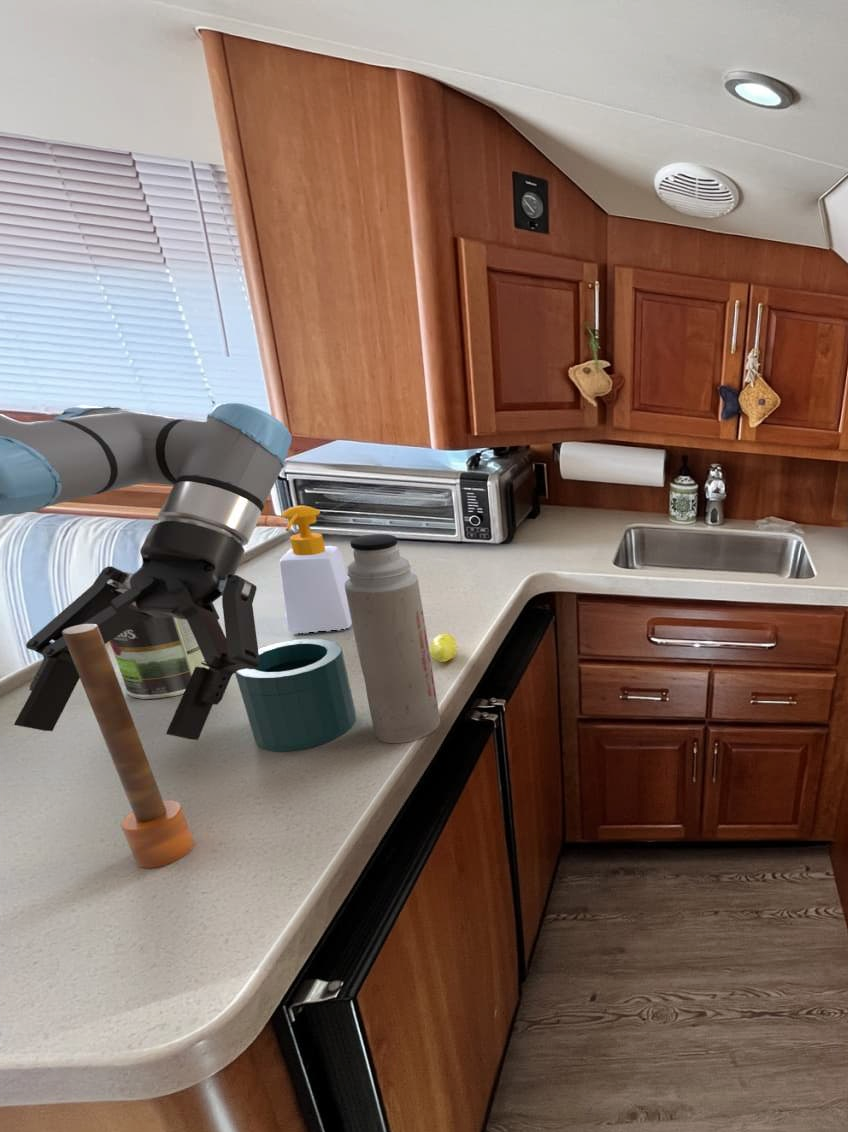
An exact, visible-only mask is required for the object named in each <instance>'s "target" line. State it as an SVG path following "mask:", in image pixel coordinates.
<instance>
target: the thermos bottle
mask: <svg viewBox="0 0 848 1132" xmlns="http://www.w3.org/2000/svg"><path fill="white" fill-rule="evenodd" d="M349 543H350V547H351V548H352V549H353V551H352V552H353V553H352V555H353V559H354V560H353V561H351V562H349V564H348V565H347V574H348V577H349V579H348V580H347V581H346V582H345V591H346V596H347V601H348V606H349V611H350V616H351V621H352V624H351V626H352V631H353V634H354V639H355V644H356V649H357V654H358V659H359V663H360V668H361V673H362V676H363V679H364V683H365V684H364V685H365V690H366V697H367V703H368V708H369V712H370V717H371V721H372V726H373V732H374V735H375V737H376V739H378V740H379V741H381V742H384V743H389V744H401V743H402V744H403V743H408V742H413V741H416V739H417V740H419V739H418V738H420V737H422V736H424V737H427V736H428V735H430V734H432V733H433V732H435V731H436V730H437V728H439V726H440V723H441V717H440V710H439V703H438V698H437V691H436V690H437V689H436V686H435V685H436V684H435V679H434V671H433V666H432V659H431V654H430V645H429V640H428V634H427V628H426V622H425V616H424V609H423V602H422V597H421V590H420V585H419V578H418V575H417V574H415V573H414V572H412V571H411V569H412V566H411V565H410V561H409V560H408V559H407V558H405V557H404V556H401V555H400V554H401V553H400V549H399V546H398V540H397V537H396V536H395V535H392V534H387V533H373V534H364V535H359V536H356V537H353V538H352V539H350V541H349ZM422 738H423V737H422ZM420 739H421V738H420Z"/></svg>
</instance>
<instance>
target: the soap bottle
mask: <svg viewBox="0 0 848 1132" xmlns="http://www.w3.org/2000/svg"><path fill="white" fill-rule="evenodd" d="M280 515H281V517H283V518H287V520H288V521H287V522H288V523H287V526H286V527H285V531H286V532H289V531H290V529H291V527H292V526H297V529H298V532H299V533H296V534H292V535H291V536H290V537H289V540H290V541H289V542H290V545H291V548H289V549H288V550H287V551H285V553H284V554H283V556H282V557H281V558H280V559H279V563H278V567H279V574H280V583H281V591H282V598H283V605H284V606H283V607H284V612H285V614H284V615H285V621H286V622H285V623H286V629H287V631H289V633H290V634H295V635H301V633H303V634H310V633H309V632H314V633H319V632H318V631H326V632H332V631H331V630H337V631H342V630H341V629H344V630H347V629H346V628H348V629H350V628H351V626H352V621H351V616H350V611H349V606H348V601H347V596H346V591H345V582H346V581H347V580H348V579H350V578H349V576H348V574H347V573H348V570H347V568H346V564H345V561H344V557H343V555H342V552H341V550H340V549H339V547H337V546H335V545H325V542H324V538H323V534H322V533H320V532H312V531H311V525H312V524H315V523H316V522H317V517H316V516H318V515H321V511H320V509H317V508H315V507H312V506H307V505H294V506H292V507H288V508H287V509H285V510H284V511H282V512H281V514H280ZM349 627H350V628H349ZM298 633H300V634H298Z"/></svg>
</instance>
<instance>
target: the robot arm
mask: <svg viewBox="0 0 848 1132" xmlns="http://www.w3.org/2000/svg"><path fill="white" fill-rule="evenodd" d="M291 444H292V434H291V432H290V430H289V429H288V428H287V427H286V426H285V424H283V422H281V421H280V420H279V419H278V418H276V417H275V416H273V415H272V414H270V413H268V412H266V411H264V410H262V409H260V408H257V407H254V406H252V405H248V404H244V403H239V402H233V401H231V402H226V403H220V404H217V405H215V407H213V409H212V411H211V412H210V413H208V414H207V416H206V420H199V419H191V418H189V419H187V418H179V417H173V416H172V417H171V416H166V415H160V414H159V415H158V414H152V413H147V412H146V413H145V412H139V411H132V410H128V409H123V408H120V407H116V406H115V407H114V406H103V407H102V406H94V405H93V406H92V405H76V406H71V407H67V408H66V409H64V411H63V412H62V413H61V414H59V415H57V416H55V417H54V418H53V419H47V420H37V421H29V422H25V421H19V420H16V419H14V418H10V417H9V416H6V415H4V414H2V413H0V517H4V516H8V515H22V514H26V513H31V512H37V511H39V510H43V509H46V508H47V507H51V506H55V505H58V504H62V503H66V502H71V501H75V500H77V499H81V498H85V497H90V496H94V495H100V494H104V493H107V492H112V491H116V490H120V489H124V488H128V487H132V486H136V485H139V484H140V485H141V484H159V485H168V486H172V488H171V490H170V492H169V494H168V495H167V497H166V499H165V500H164V503H163V504H162V506H161V509H160V510H159V512H158V514H157V519H158V521H159V522H156V523H154V524H153V525H152V526H151V529H150V531H149V532H148V534H147V536H146V538H145V540H144V542H143V544H142V546H141V548H140V555H141V558H142V565H141V566H140V568H138V570H137V571H135V572H134V573H132V572H126V571H124V570H123V571H122V570H121V569H119V568H116V567H114V566H106V567H105V568H103V569H102V570H101V571H100V573H99V575H97V578H96V579H95V580H94V582H93V584H92V585H91V586H90V587H88V588H87V589H86V590H85V591H84V592H83V593H81V594H80V595H79V596H78V597H77V598H76V599H75V600H74V601H72V602H71V603H69V605H68V606H66V607H65V609H63V610H62V611H61V612H60V613H58V615H56V616H55V617H54V618H53V619H51V620H50V621H49V623H47V624H46V625H45V626H44V627H43V628H41V629H40V630H39V631H38V632H37V633H36V634H35V635H33V637H31V638H30V639H29V640H28V641H27V642H26V644H25V647H26V649H28V650H30V651H34V652H36V653H37V654H40V655H42V657H43V660H42V662H41V664H40V666H39V667H38V670H37V672H36V674H35V675H34V676H33V679H32V681H31V682H30V685H29V691H30V694H29V696H28V697H27V699H26V701H25V703H24V705H23V707H22V709H21V710H20V712H19V714H18V716H17V718H16V720H15V721H14V724H13V726H16V727H23V728H28V729H33V730H39V731H42V732H53V731H54V729H55V727H56V725H57V723H58V721H59V719H60V718H61V715H62V714H63V712H64V710H65V708H66V705H67V703H68V702H69V700H70V698H71V696H72V694H73V692H74V690H75V689H76V686H77V684H78V682H79V680H80V677H79V674H78V672H77V669H76V667H75V664H74V662H73V659H72V657H71V654H70V652H69V649H68V647H67V644H66V642H65V639H64V637H63V634H62V631H63V630H64V629H66V628H69V627H72V626H76V625H82V624H96V625H98V627H99V630H100V633H101V635H102V638H103V641H104V643H105V645H106V644H108V643H110V642H109V641H110V640H112V639H113V638H115V637H116V636H118V635H119V634H121V633H123V632H124V631H126V630H127V629H129V628H130V627H132V626H133V625H135V624H136V623H138V622H141V621H147V620H149V619H151V618H152V617H157V618H170V617H175V618H178V619H184V620H187V621H188V624H189V626H190V628H191V630H192V632H193V635H194V637H195V639H196V641H197V644H198V646H199V648H200V650H201V653H202V655H203V657H204V659H205V661H204V662H206V663H203V662H201V664H203V665H205V666H208V667H209V669H207V668H204V667H195V669H194V671H193V674H192V676H191V678H190V680H189V683H188V685H187V687H186V690H185V692H184V694H182V696H181V698H180V701H179V703H178V706H177V708H176V710H175V712H174V714H173V717H172V719H171V721H170V723H169V726H168V728H167V730H166V733H165V735H170V736H174V737H178V738H182V739H186V740H191V741H193V740H194V741H198V740H199V738H200V736H201V734H202V731H203V729H204V726H205V724H206V722H207V720H208V717H209V715H210V713H211V710H212V708H213V706H215V705H216V706H217V705H219V703H220V702H221V701H222V699H223V697H224V694H225V693H226V690H227V688H228V685H229V683H230V682H231V681H230V680H231V678H232V676H233V675H235V673H236V672H237V671H238V670H242V669H246V668H248V669H255V668H256V667H258V665H259V663H260V660H259V652H258V649H259V645H258V637H257V629H256V622H255V615H254V608H253V607H254V605H253V603H254V601H255V596H256V592H257V589H258V587H257V586H256V584H254V583H252V582H250V581H248V580H247V579H245V578H243V577H241V576H240V575H238V574H236V573H237V571H238V568H239V566H240V563H241V562H242V559H243V557H244V555H245V552H246V551H245V549H244V546H246V545H248V544H249V542H250V540H251V538H252V535H253V533H254V530H255V529H256V526H257V524H258V522H259V519H260V518H261V515H262V512H263V510H264V509H265V504H266V502H267V500H268V498H269V496H270V493H271V492H272V490H273V488H274V486H275V484H276V482H277V480H278V478H279V476H280V474H281V472H282V470H283V469H284V468H285V465H286V463H285V461H286V459H287V456H288V453H289V451H290V447H291ZM221 597H222V598H221ZM219 598H221V599H222V600H221V604H222V613H223V621H224V630H225V631H224V630H223V628H222V626H221V624H220V622H219V620H220V615H219V614H218V612H217V609H216V607H215V605H214V602H215V601H216V600H218V599H219ZM134 602H136V606H135V605H132V603H134ZM224 632H225V633H224ZM52 641H53V642H52Z"/></svg>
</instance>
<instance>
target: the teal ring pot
mask: <svg viewBox="0 0 848 1132" xmlns="http://www.w3.org/2000/svg"><path fill="white" fill-rule="evenodd" d="M258 652H259V660H260V663H259V665H258V667H256V668H255V669H248V668H246V669H242V670H238V671H237V672H236V673H234V675H235V678H236V680H237V684H238V689H239V692H240V695H241V698H242V701H243V705H244V709H245V712H246V715H247V719H248V723H249V726H250V729H251V732H252V736H253V738H254V741H255V744H256V745H257V746H258V747H259V748H261V749H262V750H266V751H270V752H294V751H301V750H306V749H310V748H314V747H317V746H320V745H323V744H326V743H328V742H332V741H333V740H335V739H337V738H339V737H341V736H342V735H344V734H345V733H347V732H348V731H349V730H351V728H352V727H353V726H354V724H355V723H356V720H357V715H356V708H355V703H354V699H353V693H352V690H351V689H352V688H351V684H350V680H349V676H348V671H347V670H348V669H347V666H346V661H345V656H344V652H343V648H342V646H341V645H340V644H339V643H338V642H336V641H333V640H329V639H324V638H323V639H322V638H301V639H292V640H286V641H281V642H277V643H272V644H269V645H266V646H263V647H260V648H259V647H258Z"/></svg>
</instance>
